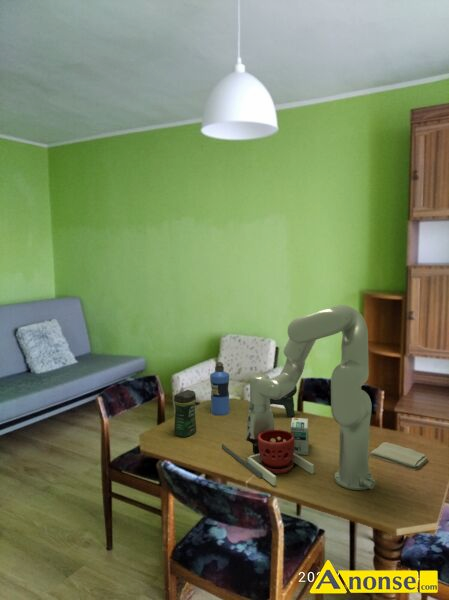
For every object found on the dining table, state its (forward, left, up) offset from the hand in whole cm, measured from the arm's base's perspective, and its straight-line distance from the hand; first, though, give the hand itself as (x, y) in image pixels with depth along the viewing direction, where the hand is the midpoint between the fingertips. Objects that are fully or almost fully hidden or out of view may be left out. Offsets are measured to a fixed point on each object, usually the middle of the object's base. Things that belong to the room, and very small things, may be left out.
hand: (260, 452), depth 168 cm
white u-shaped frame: (-10, 0, -1) cm, 10 cm away
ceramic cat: (+30, -29, -2) cm, 42 cm away
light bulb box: (-3, -17, -2) cm, 17 cm away
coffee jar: (+34, +16, -1) cm, 38 cm away
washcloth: (-28, -44, -2) cm, 52 cm away
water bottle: (+49, -9, -1) cm, 50 cm away
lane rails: (-1, 0, -1) cm, 1 cm away
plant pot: (-10, 0, -2) cm, 10 cm away
